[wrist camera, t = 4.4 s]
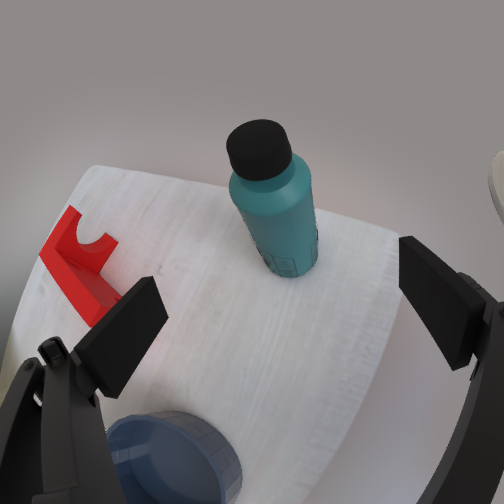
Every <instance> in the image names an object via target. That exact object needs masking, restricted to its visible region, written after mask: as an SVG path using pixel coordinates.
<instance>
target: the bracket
mask: <svg viewBox="0 0 504 504" xmlns="http://www.w3.org/2000/svg"><path fill="white" fill-rule="evenodd" d="M81 216H82V214H80V213H79V212H78V211H77V210H76V209H75V208H73V207H72V206H71V205H69V207H68V208H67V210H66V211H65V213H64V214H63V216H62V217H61V219H60V220H59V222H58V223H57V225H56V227H55V228H54V230H53V231H52V233H51V235H50V236H49V238H48V240H47V241H46V243H45V245H44V246H43V248H42V250H41V252H40V253H39V256H40V258H41V259H42V261H43V262H44V264H45V266H46V267H47V269H48V270H49V272H50V274H51V275H52V277H53V278H54V280H55V281H56V283H57V284H58V286H59V287H60V288H61V290H62V291H63V293H64V294H65V296H66V297H67V298H68V300H69V301H70V303H71V304H72V305H73V307H74V308H75V309H76V311H77V312H78V313H79V314H80V316H81V317H82V318H83V320H84V321H85V322H86V323H87V325H88V326H89V327H92V328H93V327H94V326H95V324H96V323H97V322H98V321H99V320H100V319H101V318H102V317H103V316H104V315H105V314H106V313H107V312H108V311H109V310H110V309H111V308H112V307H113V306H114V305H115V304H116V303H117V302H118V301H119V300H120V299H121V298H122V297H121V296H120V295H119V294H118V293H117V292H116V291H115V290H114V289H113V288H112V287H111V286H110V285H109V284H108V283H107V282H106V281H105V280H104V279H103V278H102V277H101V276H100V275H99V274H98V273H99V272H100V270H101V269H102V267H103V265H104V264H105V262H106V261H107V259H108V258H109V256H110V254H111V253H112V251H113V250H114V248H115V247H116V245H117V244H118V242H117V241H116V240H114V239H113V238H112V237H111V236H109V235H108V234H107V233H105V234H104V235H103V236H102V237H101V238H100V239H99V240H97V241H96V242H94V243H91V244H80V243H78V241H77V235H76V231H77V225H78V222H79V220H80V218H81Z"/></svg>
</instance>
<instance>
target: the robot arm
mask: <svg viewBox="0 0 504 504" xmlns="http://www.w3.org/2000/svg"><path fill="white" fill-rule="evenodd" d="M399 288H400V289H401V290H402V292H403V293H404V295H405V296H406V297H407V299H408V300H409V302H410V303H411V305H412V306H413V308H414V309H415V311H416V312H417V313H418V315H419V317H420V318H421V320H422V321H423V323H424V324H425V326H426V327H427V329H428V330H429V332H430V334H431V335H432V337H433V338H434V340H435V342H436V343H437V345H438V347H439V348H440V350H441V352H442V353H443V355H444V357H445V359H446V360H447V362H448V364H449V366H450V367H451V369H452V371H454V370H457V369H459V368H462V367H465V366H467V365H469V362H470V360H471V357H472V354H473V353H474V355H475V356H476V358H477V362H476V365H475V368H474V370H473V373H472V375H471V378H470V381H471V383H470V387H469V390H468V394H467V397H466V400H465V403H464V406H463V409H462V411H461V414H460V417H459V420H458V422H457V425H456V427H455V430H454V432H453V435H452V437H451V440H450V442H449V444H448V446H447V449H446V451H445V453H444V455H443V457H442V459H441V461H440V463H439V465H438V467H437V469H436V471H435V473H434V475H433V476H432V478H431V480H430V482H429V484H428V485H427V487H426V489H425V491H424V492H423V494H422V496H421V497H420V499H419V500H418V502H417V503H416V504H491V502H492V499H493V497H494V495H495V492H496V490H497V487H498V484H499V482H500V479H501V476H502V474H503V470H504V302H499V303H498V302H497V301H496V300H495V299H494V298H493V297H492V296H491V295H490V294H489V293H488V292H487V291H486V290H485V289H484V288H482V287H481V286H480V285H479V284H477V282H476V281H475V280H474V279H472V278H471V277H470V276H468V275H466V274H464V273H461V272H460V273H456V272H455V271H454V270H453V269H452V268H451V267H449V266H448V265H447V264H446V263H445V262H444V261H442V260H441V259H440V258H439V257H438V256H437V255H435V254H434V253H433V252H432V251H431V250H429V249H428V248H427V247H426V246H424V245H423V244H422V243H420V242H419V241H418V240H417V239H415V238H414V237H413V236H407V237H401V238H399ZM168 318H169V317H168V315H167V312H166V310H165V307H164V304H163V302H162V299H161V297H160V294H159V291H158V289H157V286H156V283H155V280H154V278H153V276H150V277H143V278H141V279H140V280H139V281H138V282H137V283H136V284H135V285H134V286H133V287H132V288H131V289H130V290H129V291H128V292H127V293H126V294H125V295H124V296H123V297H122V298H121V299H120V300H119V301H118V302H117V303H116V304H115V305H114V306H113V307H112V308H111V309H110V310H109V311H108V312H107V313H106V314H105V315H104V316H103V317H102V318H101V319H100V320H99V321H98V322H97V323H96V324H95V326H94V327H93V328H92V329H91V330H90V331H89V332H88V333H87V334H86V335H85V336H84V337H83V338H82V339H81V341H80V342H79V343H78V344H77V345H76V346H75V347H74V348H73V349H74V350H73V351H72V352H71V353H70V354H69V352H68V350H67V349H66V347H65V345H64V344H63V342H62V340H61V338H60V337H58V336H57V337H52V338H49V339H47V340H46V341H44V342H43V343H42V344H41V345H40V346H39V347H38V351H39V353H40V355H41V356H42V358H43V360H44V361H45V363H46V364H47V365H44V366H42V364H41V363H40V361H39V359H38V358H36V357H32V358H28V359H27V360H25V361H24V363H23V364H22V365H21V366H20V368H19V370H18V372H17V374H16V376H15V378H14V380H13V382H12V384H11V386H10V388H9V390H8V392H7V394H6V396H5V399H4V401H3V403H2V405H1V408H0V504H127V501H126V499H125V496H124V493H123V490H122V488H121V485H120V482H119V479H118V476H117V473H116V469H115V466H114V463H113V459H112V456H111V452H110V449H109V445H108V441H107V437H106V433H105V428H104V424H103V419H102V414H101V409H100V403H99V398H98V396H97V395H96V393H95V391H96V389H97V388H99V389H100V391H101V392H102V394H103V395H104V396H105V397H109V398H115V399H117V398H118V397H119V395H120V393H121V392H122V390H123V389H124V387H125V385H126V384H127V382H128V380H129V379H130V377H131V376H132V374H133V372H134V371H135V369H136V368H137V366H138V364H139V363H140V361H141V360H142V358H143V357H144V355H145V353H146V352H147V350H148V349H149V347H150V346H151V344H152V343H153V341H154V339H155V338H156V336H157V335H158V333H159V332H160V330H161V329H162V327H163V326H164V324H165V323H166V321H167V319H168ZM34 393H35V395H36V396H37V397H38V399H39V400H40V401H41V402H42V405H41V407H40V406H39V405H38V404H37V402H36V401H35V400H34V399H33V396H34Z"/></svg>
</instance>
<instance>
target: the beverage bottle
mask: <svg viewBox="0 0 504 504" xmlns="http://www.w3.org/2000/svg"><path fill="white" fill-rule="evenodd" d="M226 148H227V152H228V155H229V158H230V163H231V166H232V168H233V170H234V171H233V173H232V175H231V178H230V182H229V193H230V196H231V199H232V201H233V203H234V204H235V205H236V207H237V208H238V210H239V212H240V214H241V216H242V218H243V221H245V223H246V225H247V227H248V230H249V232H250V234H251V235H252V238H253V239H254V241H255V244H256V245H257V246H258V247H257V246H256V248H257V249H258V248H259V249H258V251H259V250H260V251H259V253H260V252H261V253H260V254H262V255H261V256H263V257H264V258H263V260H264V261H265V263H266V265H267V266H268V267H269V268H270V269H271V270H272V271H271V272H274V273H275V274H277V275H280V277H281V276H283V277H284V278H286V277H290V278H291V277H293V278H295V277H298V276H301V275H303V274H305V273H306V272H307V271H309V270H310V269H311V267H312V266H313V265H314V263H315V262H316V260H317V255H318V251H317V250H318V249H317V243H318V242H317V240H318V230H316V228H317V227H316V223H315V222H316V221H315V219H316V217H315V214H314V213H315V212H314V209H315V208H314V207H313V197H312V188H311V173H310V170H309V168H308V166H307V164H306V163H305V161H304V160H303V159H302V158H300V157H299V156H298V155H296V154H294V153H292V150H291V146H290V143H289V141H288V138H287V135H286V132H285V130H284V129H283V127H282V126H281V125H280V124H278V123H277V122H274V121H271V120H265V119H259V120H253V121H249V122H246V123H244V124H242V125H240V126H239V127H237V128H236V129H235V130H234V131H233V132H232V133H231V134H230V135H229V137H228V139H227V143H226ZM245 223H244V224H245ZM316 231H317V236H316ZM249 236H250V235H249ZM252 238H251V239H252ZM253 243H254V242H253ZM318 247H319V246H318Z"/></svg>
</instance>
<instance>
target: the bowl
mask: <svg viewBox="0 0 504 504" xmlns="http://www.w3.org/2000/svg"><path fill="white" fill-rule="evenodd" d="M106 437H107V441H108V445H109V449H110V452H111V456H112V459H113V463H114V466H115V469H116V473H117V476H118V479H119V482H120V485H121V488H122V490H123V493H124V496H125V499H126V501H127V504H233V503H234V501H235V500H236V498H237V496H238V494H239V492H240V489H241V486H242V470H241V465H240V462H239V459H238V457H237V455H236V453H235V451H234V449H233V448H232V446H231V445H230V443H229V442H228V441H227V440H226V438H225V437H224V436H223V435H222V434H221V433H220V432H219V431H218V430H217V429H215V428H214V427H213V426H211V425H210V424H208V423H207V422H205V421H204V420H202V419H200V418H198V417H196V416H193V415H190V414H188V413H184V412H179V411H160V412H151V413H144V414H137V415H130V416H127V417H125V418H122V419H119V420H118V421H117V422H115V423H114V424H113V425H112V426H111V427H110V428H109V429H108V431H107V433H106Z"/></svg>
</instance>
